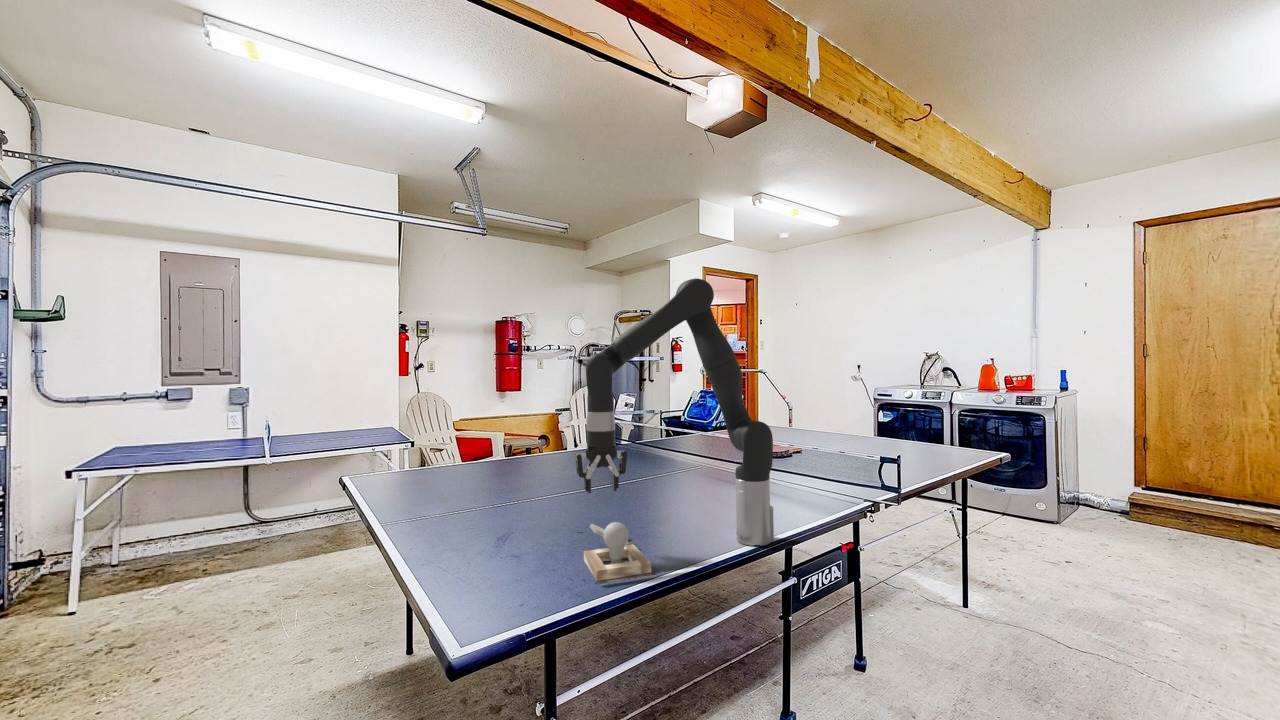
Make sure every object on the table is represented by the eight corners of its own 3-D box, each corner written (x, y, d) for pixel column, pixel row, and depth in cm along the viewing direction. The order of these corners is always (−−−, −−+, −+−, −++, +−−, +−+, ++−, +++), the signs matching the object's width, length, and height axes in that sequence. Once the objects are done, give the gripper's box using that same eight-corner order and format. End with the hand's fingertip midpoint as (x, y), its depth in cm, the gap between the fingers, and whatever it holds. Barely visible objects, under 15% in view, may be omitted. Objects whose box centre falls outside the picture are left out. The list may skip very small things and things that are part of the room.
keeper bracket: (626, 541, 138) (626, 532, 138) (636, 552, 130) (636, 543, 130) (619, 542, 138) (619, 533, 138) (629, 553, 129) (629, 544, 129)
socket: (633, 556, 127) (633, 544, 128) (651, 575, 115) (651, 562, 115) (583, 563, 123) (583, 551, 123) (596, 584, 111) (596, 570, 111)
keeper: (594, 533, 128) (596, 528, 128) (589, 527, 133) (591, 522, 134) (631, 551, 131) (634, 546, 131) (625, 544, 137) (627, 539, 137)
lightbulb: (625, 574, 116) (625, 527, 116) (600, 572, 118) (600, 525, 118) (631, 563, 122) (631, 519, 122) (607, 562, 124) (607, 517, 124)
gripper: (577, 431, 126) (578, 497, 126) (631, 428, 131) (631, 492, 131) (571, 428, 133) (572, 490, 133) (622, 425, 138) (623, 486, 138)
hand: (601, 491), depth 132 cm, fingers open, 6 cm apart
